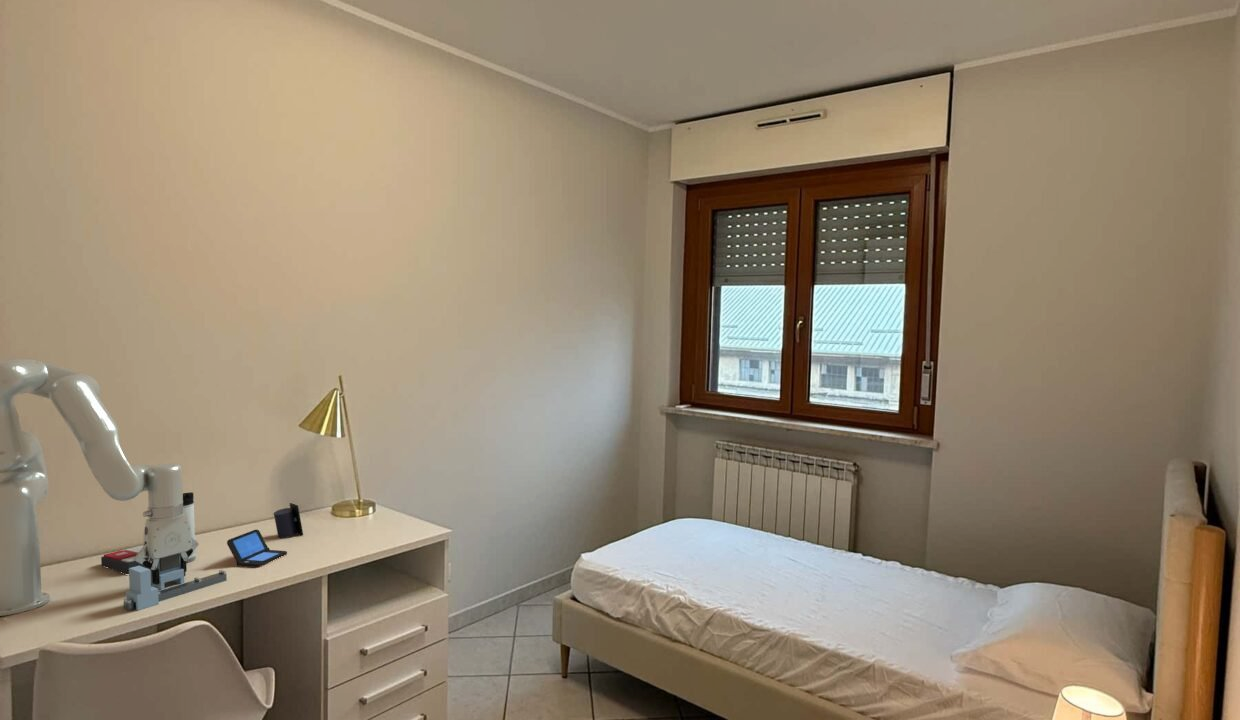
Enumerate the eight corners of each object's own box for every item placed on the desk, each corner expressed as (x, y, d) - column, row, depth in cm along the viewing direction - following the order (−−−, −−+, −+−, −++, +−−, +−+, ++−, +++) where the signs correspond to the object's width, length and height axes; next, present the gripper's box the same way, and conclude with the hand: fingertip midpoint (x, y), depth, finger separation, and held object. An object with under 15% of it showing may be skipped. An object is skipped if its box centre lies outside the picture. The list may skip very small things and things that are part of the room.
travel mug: (184, 565, 193) (181, 496, 192) (164, 563, 194) (162, 494, 193) (201, 557, 199) (199, 490, 198) (182, 556, 200) (180, 489, 199)
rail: (128, 611, 160) (128, 601, 160) (123, 609, 162) (123, 599, 162) (226, 581, 180) (226, 571, 180) (221, 579, 181) (221, 569, 181)
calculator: (143, 543, 202) (169, 549, 194) (143, 558, 202) (170, 564, 194) (100, 554, 192) (126, 560, 185) (101, 569, 192) (127, 576, 185)
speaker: (301, 530, 225) (297, 500, 224) (303, 535, 220) (299, 505, 219) (276, 536, 222) (272, 505, 220) (277, 541, 217) (273, 510, 215)
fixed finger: (158, 604, 165) (157, 567, 164) (137, 610, 161) (136, 573, 160) (147, 599, 167) (146, 563, 167) (126, 605, 164) (125, 569, 163)
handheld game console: (258, 568, 190) (257, 542, 190) (225, 566, 192) (225, 540, 192) (289, 554, 202) (288, 530, 202) (258, 552, 205) (257, 528, 204)
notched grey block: (161, 590, 174) (160, 556, 173) (152, 587, 176) (151, 553, 176) (184, 583, 178) (183, 550, 178) (175, 580, 181) (174, 547, 180)
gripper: (136, 521, 167) (138, 593, 168) (207, 506, 182) (209, 572, 183) (121, 517, 171) (124, 587, 172) (193, 502, 186) (195, 567, 186)
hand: (168, 578), depth 177 cm, fingers closed on notched grey block, 5 cm apart
